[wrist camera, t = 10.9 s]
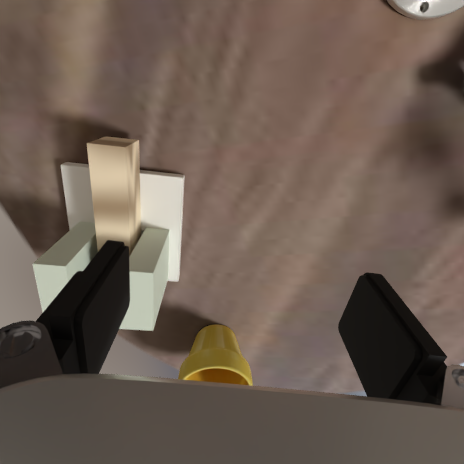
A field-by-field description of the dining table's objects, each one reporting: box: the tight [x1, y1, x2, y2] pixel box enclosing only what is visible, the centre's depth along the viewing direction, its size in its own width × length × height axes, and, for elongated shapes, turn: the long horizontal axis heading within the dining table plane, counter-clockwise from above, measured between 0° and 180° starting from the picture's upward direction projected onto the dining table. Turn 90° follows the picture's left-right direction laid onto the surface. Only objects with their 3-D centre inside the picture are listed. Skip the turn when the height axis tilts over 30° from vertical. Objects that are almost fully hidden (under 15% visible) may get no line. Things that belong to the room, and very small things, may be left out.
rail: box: [87, 136, 141, 257], centre depth 32 cm, size 16×4×6 cm, turn 174°
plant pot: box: [178, 324, 253, 386], centre depth 43 cm, size 10×10×10 cm
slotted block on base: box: [33, 162, 185, 331], centre depth 33 cm, size 15×14×12 cm
